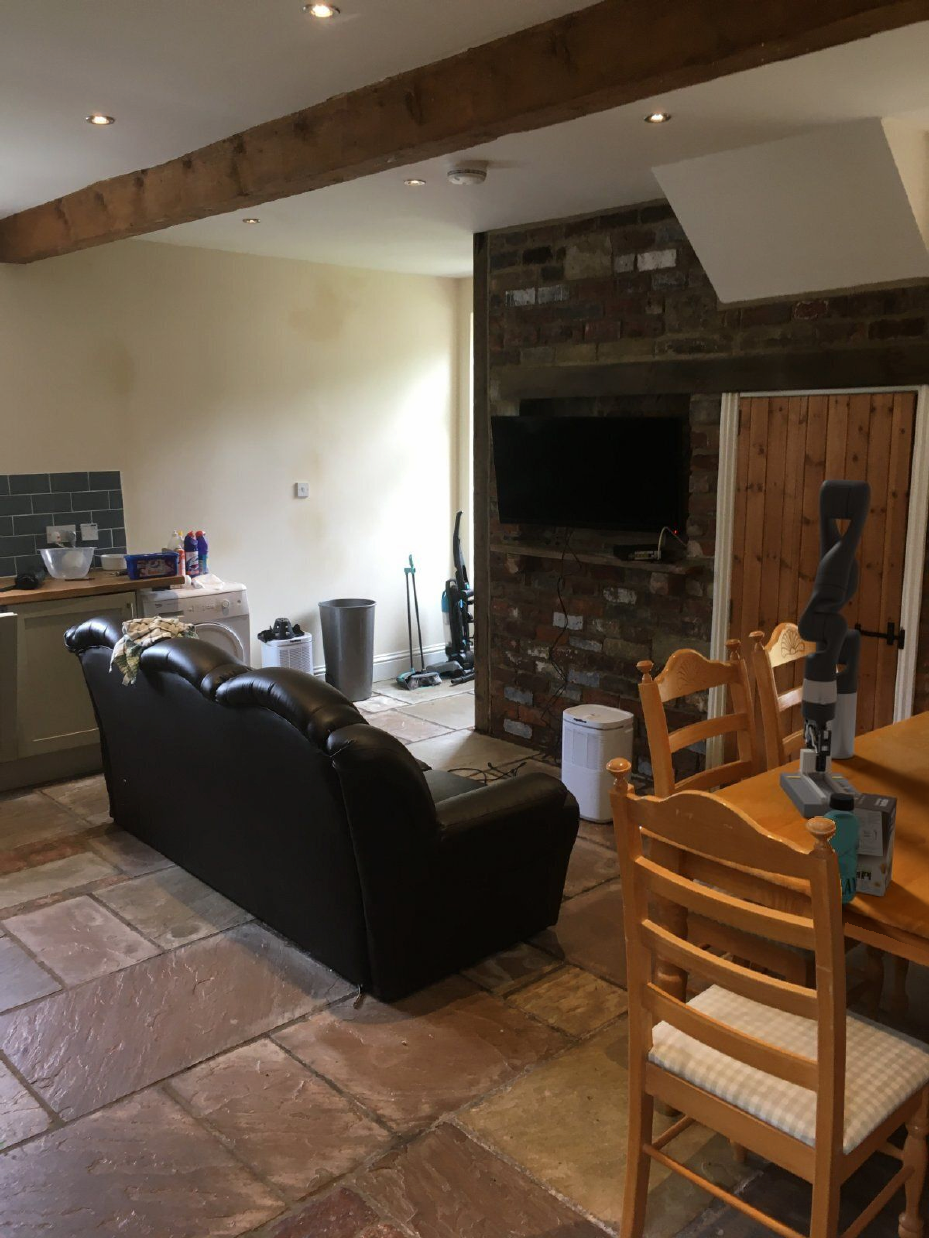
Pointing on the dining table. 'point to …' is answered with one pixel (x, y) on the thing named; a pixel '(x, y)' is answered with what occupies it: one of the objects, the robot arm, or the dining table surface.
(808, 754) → the fader
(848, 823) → the beverage bottle
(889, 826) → the coffee box
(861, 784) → the dining table surface
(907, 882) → the dining table surface
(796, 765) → the dining table surface
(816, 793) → the console
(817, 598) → the robot arm
